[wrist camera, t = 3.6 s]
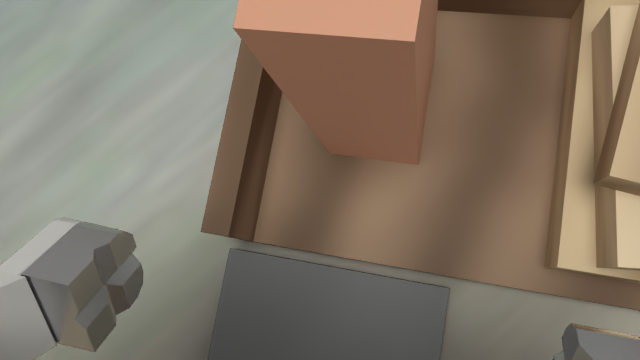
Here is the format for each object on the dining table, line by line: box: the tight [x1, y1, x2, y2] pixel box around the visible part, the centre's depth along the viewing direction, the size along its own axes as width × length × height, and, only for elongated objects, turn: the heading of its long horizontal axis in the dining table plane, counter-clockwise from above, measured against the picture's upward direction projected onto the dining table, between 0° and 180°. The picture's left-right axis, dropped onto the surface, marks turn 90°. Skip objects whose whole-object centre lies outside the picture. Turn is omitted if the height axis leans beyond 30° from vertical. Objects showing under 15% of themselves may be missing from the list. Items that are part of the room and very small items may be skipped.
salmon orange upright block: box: [233, 0, 438, 165], centre depth 17 cm, size 4×5×12 cm
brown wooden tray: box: [201, 0, 640, 310], centre depth 20 cm, size 21×13×4 cm, turn 80°
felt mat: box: [207, 248, 449, 360], centre depth 22 cm, size 10×8×1 cm
